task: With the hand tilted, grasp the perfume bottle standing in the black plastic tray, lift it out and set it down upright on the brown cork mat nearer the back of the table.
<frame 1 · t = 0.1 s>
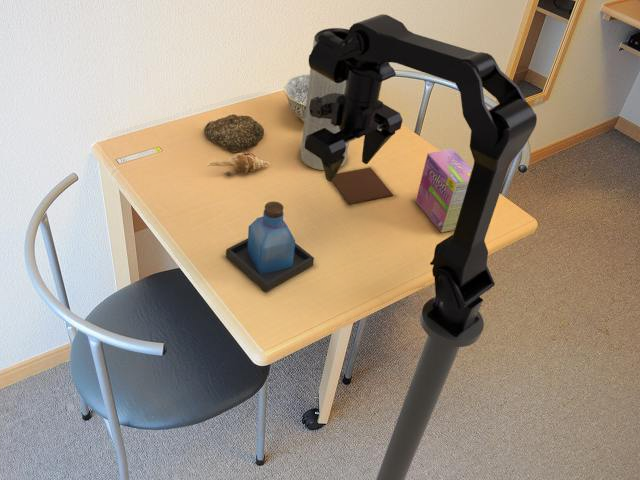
hand: (347, 171, 119), 12 cm above the table, tool pointing down, fingers open, 9 cm apart
bread roll: (235, 136, 148), on the table
mat: (359, 186, 136), on the table
box: (439, 215, 130), on the table
planter: (322, 158, 143), on the table
perfume bottle: (269, 260, 118), resting on tray
spiral seashell: (238, 171, 139), on the table
tray: (269, 261, 119), on the table
bowl: (315, 118, 155), on the table
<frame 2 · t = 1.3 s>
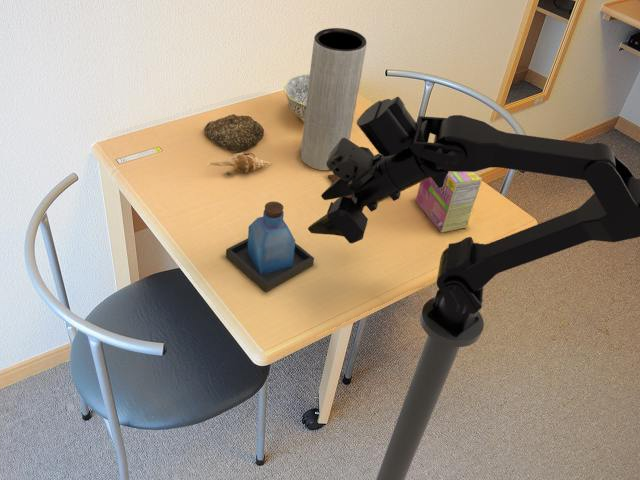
hand: (316, 213, 108), 13 cm above the table, tool tilted 45°, fingers open, 9 cm apart
nothing on the table moved.
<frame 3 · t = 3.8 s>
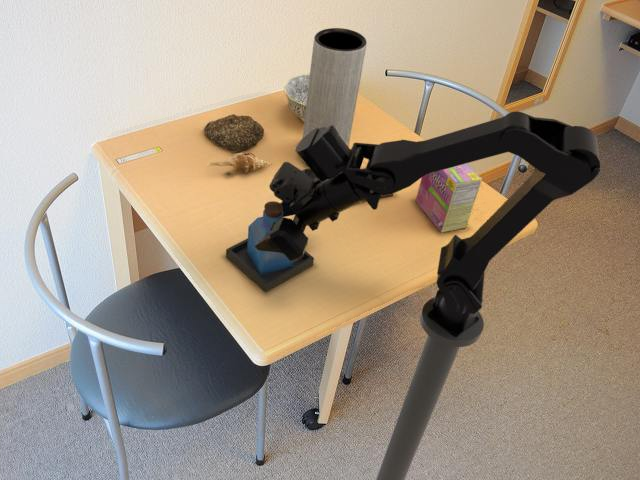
hand: (264, 231, 114), 7 cm above the table, tool tilted 45°, fingers closed on perfume bottle, 9 cm apart
perfume bottle: (269, 260, 118), resting on tray, touching gripper
everything else where it was.
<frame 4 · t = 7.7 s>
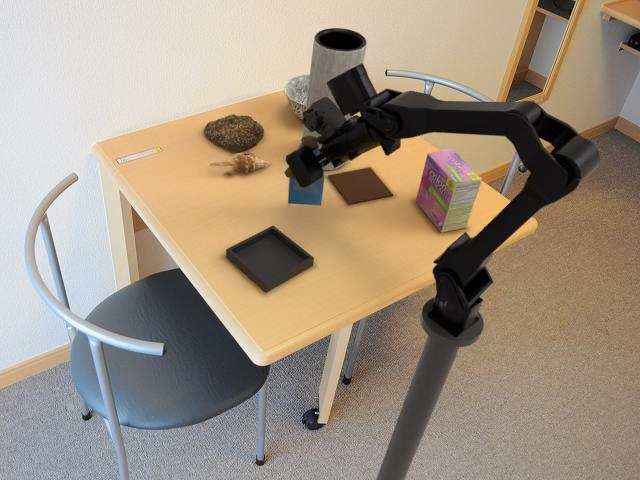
hand: (302, 164, 121), 11 cm above the table, tool tilted 45°, fingers closed on perfume bottle, 9 cm apart
perfume bottle: (304, 195, 125), point 5 cm above the table, touching gripper
everything else where it was.
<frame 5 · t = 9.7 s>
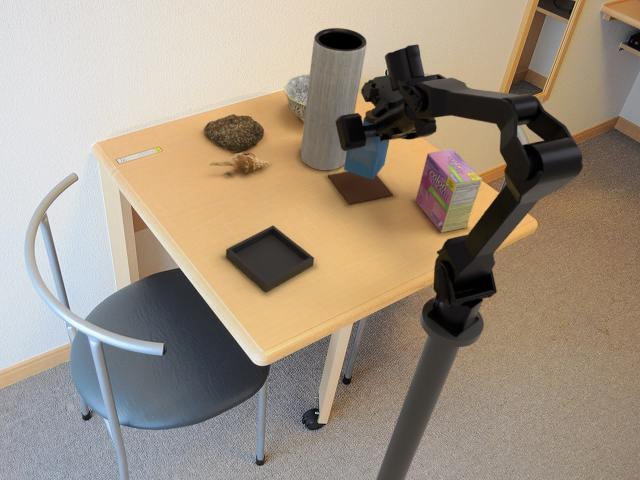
hand: (365, 137, 129), 11 cm above the table, tool tilted 45°, fingers closed on perfume bottle, 9 cm apart
perfume bottle: (364, 168, 133), point 5 cm above the table, touching gripper
everything else where it was.
when the fingers open (7 cm above the table, at t = 11.6 s): perfume bottle stays where it is, resting on mat.
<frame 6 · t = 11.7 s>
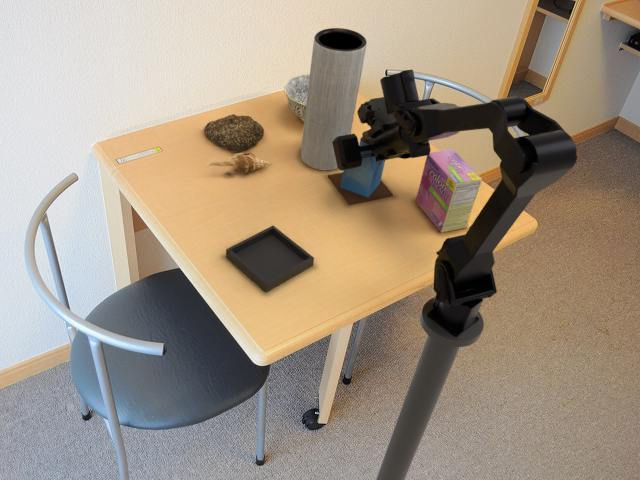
hand: (362, 155, 132), 7 cm above the table, tool tilted 45°, fingers open, 9 cm apart
perfume bottle: (360, 185, 136), resting on mat
everything else where it was.
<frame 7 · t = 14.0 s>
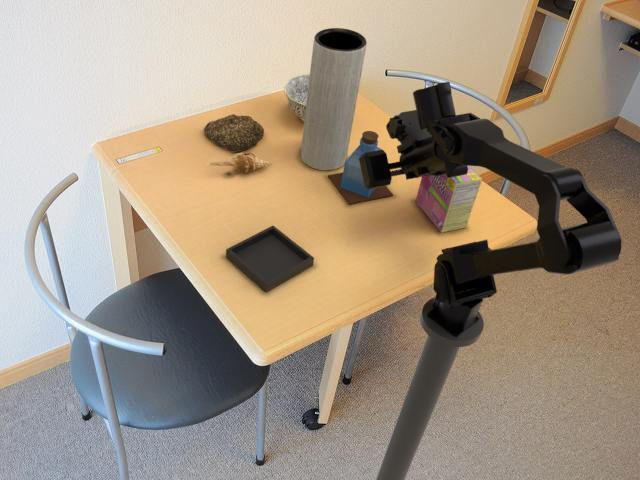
hand: (388, 171, 124), 10 cm above the table, tool tilted 45°, fingers open, 9 cm apart
nothing on the table moved.
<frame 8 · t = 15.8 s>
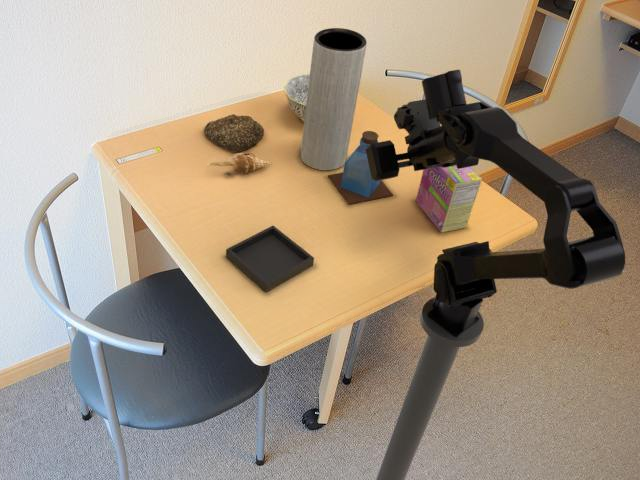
hand: (395, 163, 120), 13 cm above the table, tool tilted 45°, fingers open, 9 cm apart
nothing on the table moved.
at the end: perfume bottle inside the target area on the mat (0.1 cm from its centre), point 0.2 cm above the mat's base; perfume bottle tilted 0°; perfume bottle touching mat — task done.
